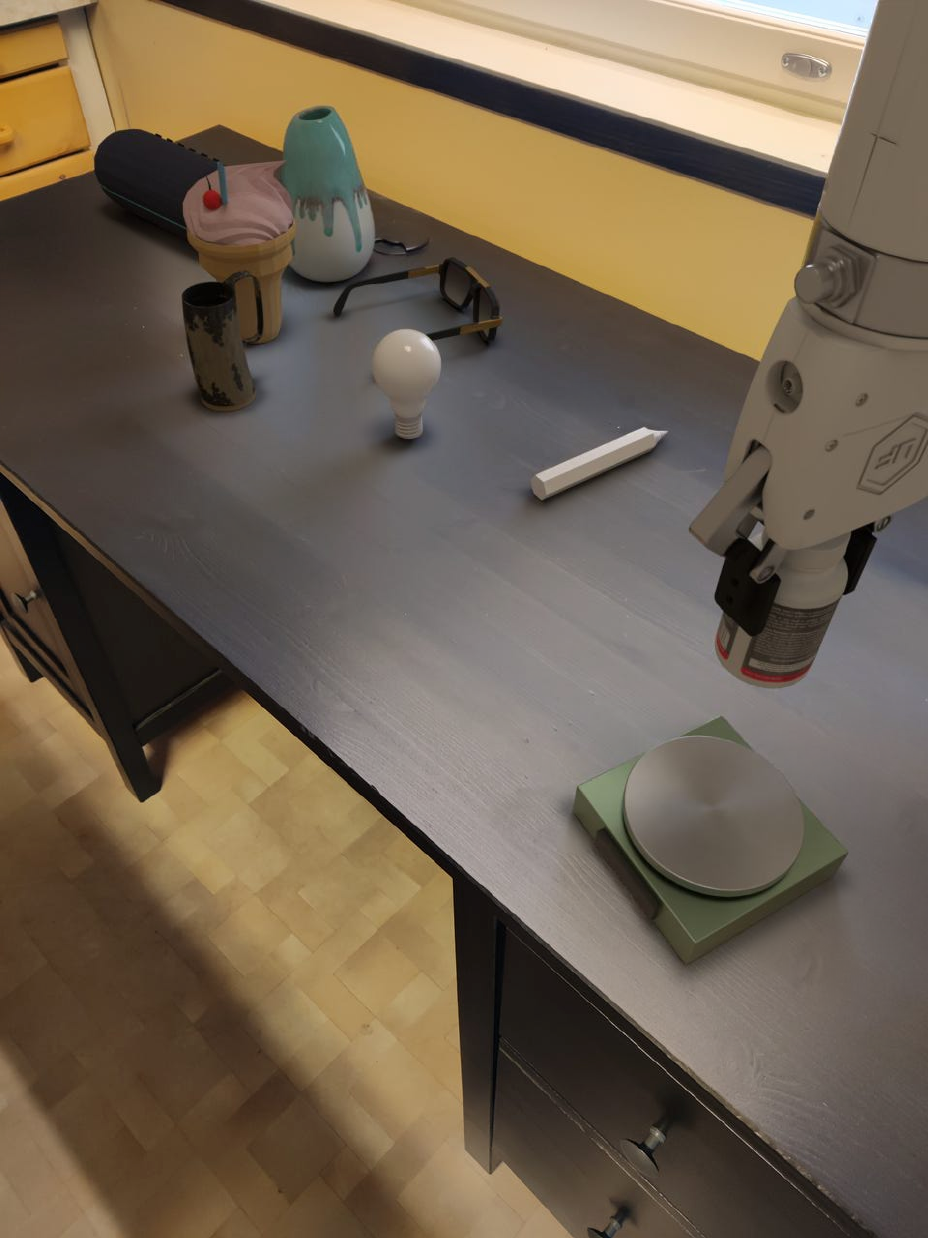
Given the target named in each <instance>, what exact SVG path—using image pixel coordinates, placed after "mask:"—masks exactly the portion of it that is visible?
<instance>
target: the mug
mask: <svg viewBox="0 0 928 1238" xmlns="http://www.w3.org/2000/svg"><path fill="white" fill-rule="evenodd" d="M246 277H253V283H254V291H255V298H256V307H257V320H258V322H257V333H256V334H255V335H254V336H253V337H251V338H248V339H245V340H244V341H242V337H241V331H240V325H239V320H238V313H237V303H236V292H235V283H236V282H237V281H239V280H240V279H243V278H246ZM181 307H182V317H183V325H184V332H185V337H186V345H187V350H188V354H189V359H190V363H191V366H192V372H193V375H194V379H195V383H196V386H197V389H198V392H199V395H200V399H201V402H202V404H203V405H204V406H205V407H206V408H208V409H210V410H212V411H217V412H233V411H238V410H241V409H244V408H245V407H248V406H250V405H251V404H252V403H253V402H254V400H256V397H257V390H256V386H255V383H254V379H253V377H252V373H251V371H250V368H249V367H250V366H249V364H248V360H247V355H246V351H245V348H244V343H245V344H246V345H250V344H252V343H254V342H257V341H258V340H260V338H261V337H262V334H263V326H264V323H263V306H262V296H261V287H260V282H259V280H258V279H257V278H256V277H255V276H253V275H252V274H251V273H250V272H249V271H245V270H243V271H239V272H236V273H233V274H232V275H231V276H229V277H228V278H227V279H226V280H225V281H224V282H223V283H222V282H217V281H203V282H200V283H195V284H193V285H190V286H188V287H187V288H186V289H185V290H183V291H182V293H181Z"/></svg>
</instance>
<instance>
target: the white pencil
mask: <svg viewBox="0 0 928 1238" xmlns="http://www.w3.org/2000/svg"><path fill="white" fill-rule="evenodd" d="M668 432H669V430H654V429H648V428H647V427H645V426H643V427H640V428H637V429H636V430H634V431H632V432H629V433H626V434H625V435H623V436H620V437H618V438H616V439H613V440H611V441H608V442H606V443H604V444H602V445H599V446H598V447H595V448H593V449H590V450H588V451H586V452H583V453H582V454H579V455H577V456H575V457H572V458H570V459H568V460H565V461H563V462H561V463H559V464H557V465H554V466H552V467H550V468H547V469H545V470H543V471H540V472H538V473H536V474H534V476H532V478H531V479H530V480H529V481H530V482H529V483H530V486H531V489H532V493H533V495H535V496H536V497H537V498H538V499H539V500H540V501H544V500H546V499H548V498H551V497H553V496H555V495H558V494H560V493H561V492H563V491H566V490H568V489H570V488H573V487H575V486H576V485H580V484H581V483H583V482H586V481H588V480H590V479H592V478H594V477H597V476H599V475H601V474H603V473H606V472H607V471H609V470H612V469H615V468H616V467H619V466H621V465H623V464H625V463H627V462H630V461H632V460H634V459H636V458H638V457H640V456H643V455H645V454H647V453H649V452H651V451H652V450H653V449H654V448H655V447H656V446H657V444H658V443H659V441H660V440H662V439H663V438H664V437H665V436H666V435H667V433H668Z"/></svg>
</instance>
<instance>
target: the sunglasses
mask: <svg viewBox="0 0 928 1238" xmlns="http://www.w3.org/2000/svg"><path fill="white" fill-rule="evenodd" d="M435 274H438V275H439V292H440V294H441V296H442V297H443V298H444V299H445V300H446V301H447V302H448V303H449V304H450V305H452V306H454V307H456V308H457V309H467V308H468V307H469V306H470V304H471V302H472V322H473V323H468V324H463V325H458V326H454V327H449V328H445V329H441V330H438V331H434V332H430V333H424V334H425V335H426V336H428V337H429V338H430V339H431V340H432V341H433V342H434V341H438V340H444V339H448V338H452V337H457V336H462V335H466V334H471V333H476V332H478V334H479V335H480V336H481V338H482V339H483V341H485V342H492V341H494V340H495V339H496V335H497V331H498V328H500V327H502V324H503V320H504V318H503V317H502V316H501V315H500V311H501V306H500V302H499V299H498V297H497V295H496V293H495V291H494V290H493V288H492V286H490V284H489V283H487V282H486V281H485V280H484V278H483V277H481V276H480V275H479V274H478V273H477V272H476V271H475V270H474V269H473V268H472V267H471V266H469V265H467V264H466V263H464V262H463V261H462V260H459V258H456V257H454V256H451V257H448V258H445V259H444V260H443V263H440V264H436V265H430V266H423V267H417V268H412V269H406V270H401V271H397V272H393V273H388V274H384V275H379V276H375V277H370V278H366V279H363V280H359V281H358V280H357V281H355V282H351V283H350V284H348V285H347V286H345V288H344V289H343V291H342V292H341V293H340V295H339V297H338V298H337V299H336V301H335V304H334V305H333V310H332V312H333V315H334V317H335V318H339V316H340V315H341V314H342V313H343V310H344V309H345V305H346V303H347V300H348V298H349V295H350V293H351V291H352V290H354V289H356V288H359V287H363V286H368V285H381V284H388V283H393V282H397V281H403V280H409V279H414V278H420V277H424V276H428V275H435Z"/></svg>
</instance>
